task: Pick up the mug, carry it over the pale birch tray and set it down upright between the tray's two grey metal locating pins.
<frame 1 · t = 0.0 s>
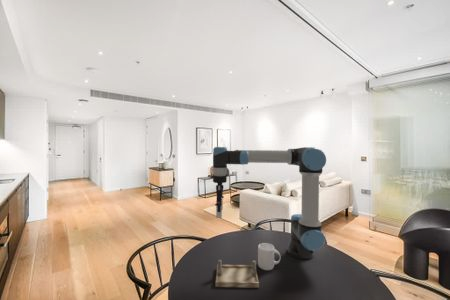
hand: (219, 213, 113), 28 cm above the table, fingers open, 13 cm apart
tray: (236, 277, 101), on the table
mug: (269, 266, 111), on the table
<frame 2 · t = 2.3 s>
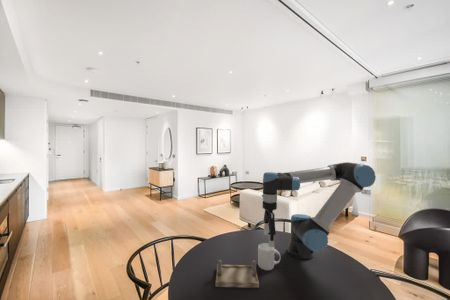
hand: (268, 240, 111), 14 cm above the table, fingers open, 13 cm apart
nothing on the table moved.
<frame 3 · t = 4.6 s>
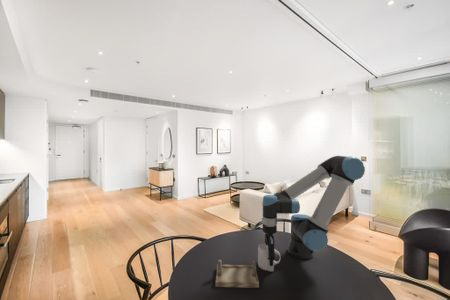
hand: (269, 265, 111), 0 cm above the table, fingers closed on mug, 9 cm apart
mug: (269, 266, 111), on the table, touching gripper
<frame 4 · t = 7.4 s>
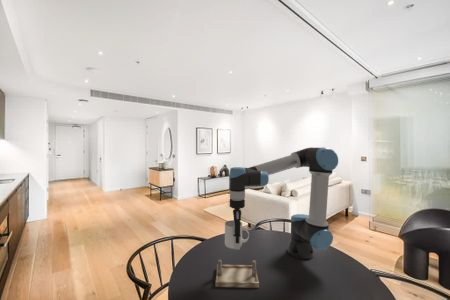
hand: (236, 244, 101), 17 cm above the table, fingers closed on mug, 9 cm apart
mug: (236, 245, 101), point 16 cm above the table, touching gripper
when the fingers open (4 cm above the table, at t = 10.5 s): mug drops 2 cm, resting on tray.
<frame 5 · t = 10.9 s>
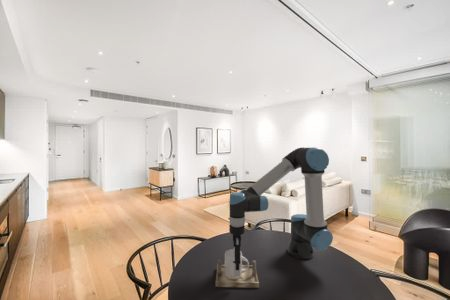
hand: (236, 267, 101), 5 cm above the table, fingers open, 13 cm apart
mug: (236, 275, 102), point 1 cm above the table, touching tray
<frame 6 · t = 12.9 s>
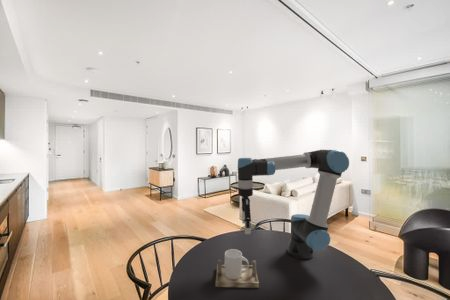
hand: (246, 228, 107), 22 cm above the table, fingers open, 13 cm apart
nothing on the table moved.
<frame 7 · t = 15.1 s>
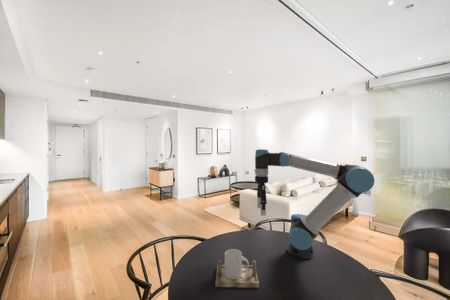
hand: (261, 211, 121), 27 cm above the table, fingers open, 13 cm apart
nothing on the table moved.
at the end: mug inside the target area on the tray (0.1 cm from its centre), point 1.0 cm above the tray's base; mug tilted 0°; the gripper is holding nothing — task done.
